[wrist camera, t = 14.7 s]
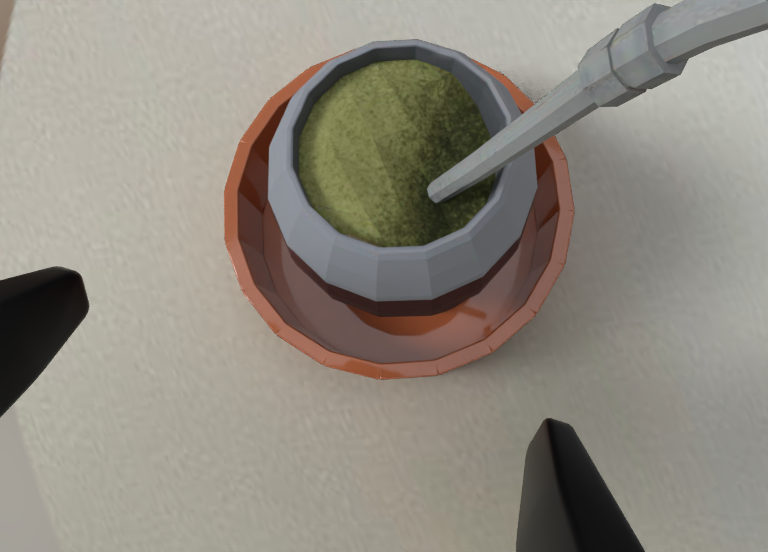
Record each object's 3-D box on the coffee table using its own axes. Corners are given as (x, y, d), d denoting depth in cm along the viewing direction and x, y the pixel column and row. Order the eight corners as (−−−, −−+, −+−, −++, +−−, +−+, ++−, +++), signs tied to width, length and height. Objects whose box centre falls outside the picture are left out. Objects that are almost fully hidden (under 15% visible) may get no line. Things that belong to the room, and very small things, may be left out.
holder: (219, 334, 18) (179, 328, 15) (298, 72, 20) (277, 18, 17) (513, 409, 17) (537, 420, 14) (569, 123, 19) (599, 76, 16)
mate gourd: (287, 196, 19) (-192, -440, 4) (467, 116, 19) (675, -791, 4) (361, 370, 17) (57, 436, 2) (555, 283, 17) (1379, -157, 3)
